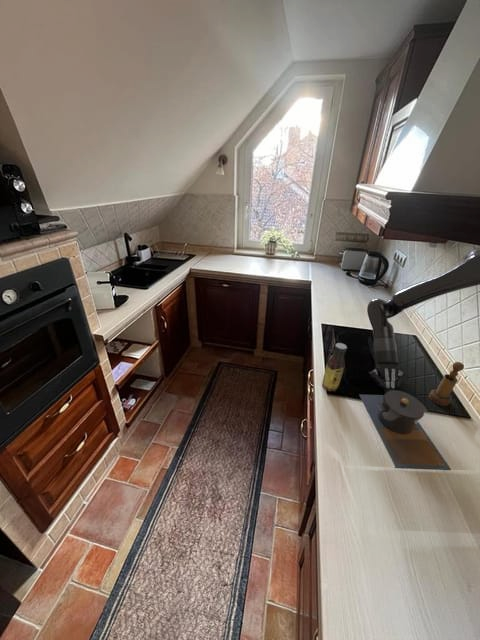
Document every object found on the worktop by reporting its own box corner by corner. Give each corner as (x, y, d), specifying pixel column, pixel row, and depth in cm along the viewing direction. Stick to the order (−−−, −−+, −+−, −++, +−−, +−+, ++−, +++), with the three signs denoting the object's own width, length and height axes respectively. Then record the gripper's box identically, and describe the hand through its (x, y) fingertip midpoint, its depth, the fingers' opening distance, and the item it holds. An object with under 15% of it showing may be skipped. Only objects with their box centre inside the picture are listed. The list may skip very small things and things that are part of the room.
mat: (400, 396, 98) (400, 395, 97) (450, 470, 73) (451, 469, 73) (358, 395, 98) (358, 394, 98) (395, 468, 74) (395, 467, 73)
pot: (406, 406, 93) (417, 385, 88) (428, 435, 83) (441, 413, 77) (365, 406, 92) (374, 385, 87) (382, 435, 82) (392, 414, 77)
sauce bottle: (331, 395, 97) (343, 354, 88) (318, 385, 102) (328, 345, 92) (341, 387, 101) (353, 347, 91) (327, 378, 105) (338, 339, 95)
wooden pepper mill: (431, 390, 101) (451, 354, 92) (451, 400, 96) (474, 364, 87) (425, 398, 97) (446, 362, 88) (445, 409, 93) (469, 372, 84)
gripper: (372, 348, 92) (376, 398, 87) (409, 350, 91) (415, 400, 87) (362, 351, 99) (366, 397, 95) (396, 352, 99) (402, 399, 94)
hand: (389, 398), depth 91 cm, fingers closed
